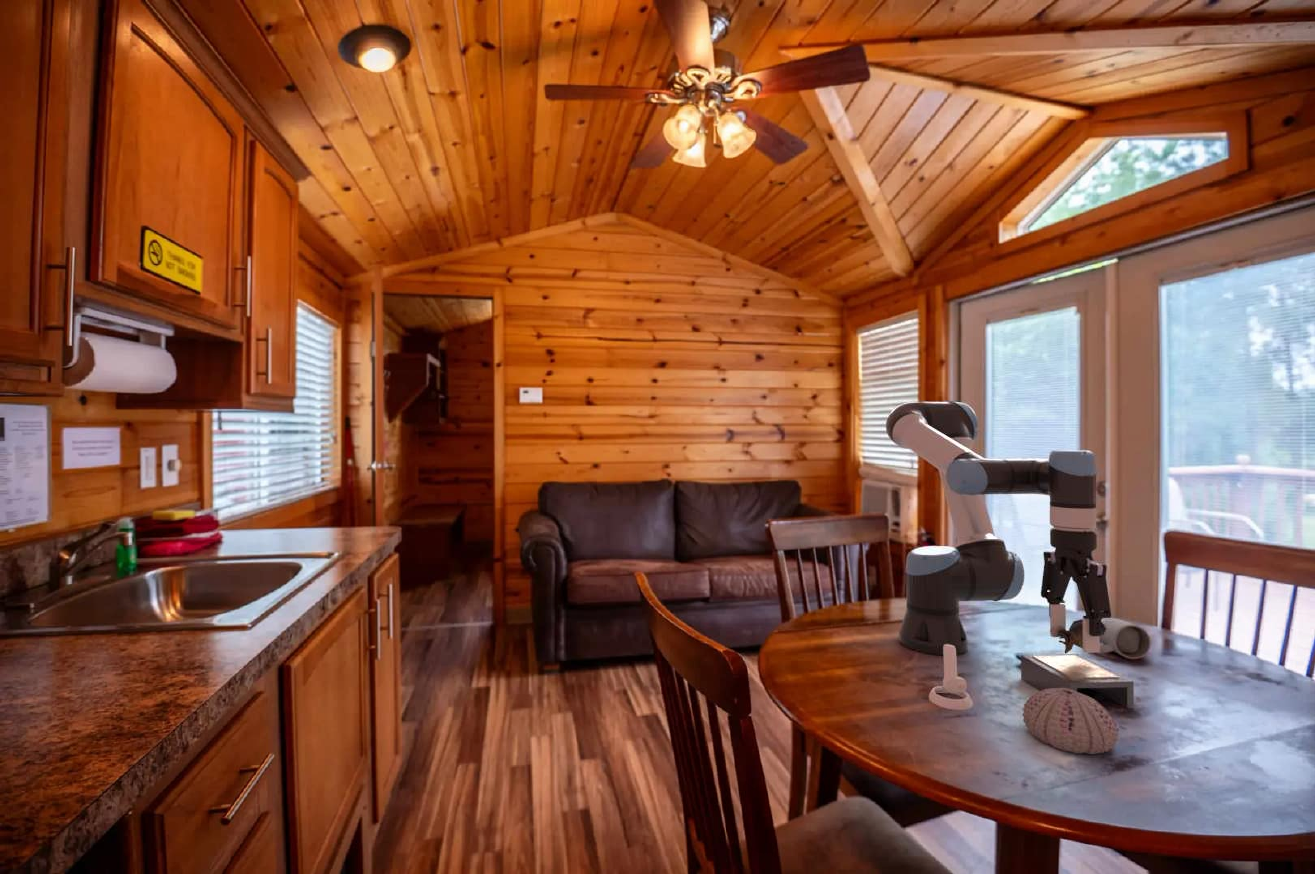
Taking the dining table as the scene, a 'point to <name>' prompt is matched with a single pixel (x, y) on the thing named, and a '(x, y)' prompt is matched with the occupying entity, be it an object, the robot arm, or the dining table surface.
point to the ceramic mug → (1124, 639)
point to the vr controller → (951, 684)
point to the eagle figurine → (1072, 634)
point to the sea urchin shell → (1070, 721)
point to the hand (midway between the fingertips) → (1074, 643)
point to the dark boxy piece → (1076, 676)
